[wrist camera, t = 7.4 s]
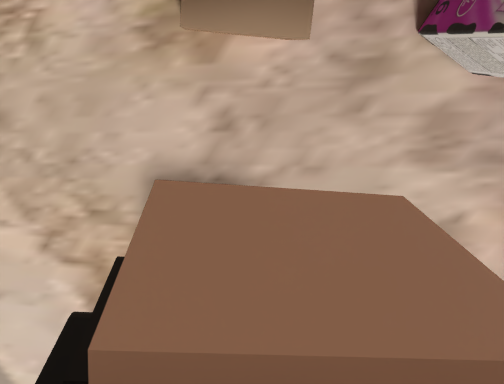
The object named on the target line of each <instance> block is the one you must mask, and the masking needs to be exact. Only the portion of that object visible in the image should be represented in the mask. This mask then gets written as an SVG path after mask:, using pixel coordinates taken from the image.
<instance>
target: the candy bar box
mask: <svg viewBox="0 0 504 384" xmlns="http://www.w3.org/2000/svg"><path fill="white" fill-rule="evenodd" d="M418 34H420V35H421V36H422V37H424V38H425V39H426V40H427V41H428V42H430V43H431V44H433V45H435V46H436V47H438V48H439V49H440V50H442V51H443V52H444V53H446V54H447V55H448V56H449V57H451V58H452V59H453V60H455V61H456V62H457V63H458V64H460V65H461V66H462V67H463V68H465V69H466V70H467V71H468V72H470V73H472V74H478V75H486V76H496V77H503V78H504V0H439V1H438V3H437V4H436V6H435V7H434V9H433V10H432V12H431V13H430V15H429V16H428V18H427V19H426V21H425V22H424V24H423V25H422V27H421V28H420V29H419V31H418Z"/></svg>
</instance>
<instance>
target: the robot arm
mask: <svg viewBox="0 0 504 384" xmlns="http://www.w3.org/2000/svg"><path fill="white" fill-rule="evenodd" d="M124 258H125V257H117V258H116V260H115V262H114V265H113V267H112V269H111V271H110V274H109V276H108V278H107V281H106V283H105V285H104V288H103V290H102V292H101V294H100V297H99V299H98V301H97V304H96V306H95V308H94V311H93V312H73V313H72V314H71V315H70V317H69V318H68V320H67V322H66V324H65V326H64V328H63V330H62V332H61V334H60V336H59V338H58V340H57V342H56V344H55V346H54V348H53V350H52V352H51V353H50V355H49V357H48V359H47V361H46V363H45V365H44V367H43V369H42V371H41V373H40V375H39V377H38V379H37V381H36V383H35V384H89V379H88V348H89V346H90V343H91V341H92V338H93V336H94V333H95V331H96V328H97V326H98V323H99V321H100V318H101V316H102V313H103V311H104V308H105V306H106V303H107V301H108V298H109V296H110V293H111V290H112V288H113V285H114V283H115V280H116V278H117V275H118V273H119V270H120V268H121V265H122V263H123V260H124Z"/></svg>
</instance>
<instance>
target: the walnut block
mask: <svg viewBox="0 0 504 384" xmlns="http://www.w3.org/2000/svg"><path fill="white" fill-rule="evenodd" d="M313 7H314V0H181V17H180V27H182V28H184V29H186V30H195V31H205V32H215V33H225V34H235V35H245V36H255V37H265V38H275V39H285V40H303V39H310V31H311V23H312V15H313Z"/></svg>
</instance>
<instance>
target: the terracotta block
mask: <svg viewBox="0 0 504 384" xmlns="http://www.w3.org/2000/svg"><path fill="white" fill-rule="evenodd" d="M88 379H89V384H504V281H503V280H502V279H500V278H499V277H498V276H497V275H496V274H495V273H493V272H492V271H491V270H490V269H489V268H487V267H486V266H485V265H484V264H483V263H482V262H480V261H479V260H478V259H477V258H476V257H474V256H473V255H472V254H471V253H470V252H469V251H467V250H466V249H465V248H464V247H463V246H461V245H460V244H459V243H458V242H457V241H455V240H454V239H453V238H452V237H451V236H450V235H448V234H447V233H446V232H445V231H444V230H442V229H441V228H440V227H439V226H438V225H437V224H435V223H434V222H433V221H432V220H431V219H429V218H428V217H427V216H426V215H425V214H424V213H422V212H421V211H420V210H419V209H418V208H416V207H415V206H414V205H413V204H412V203H411V202H409V201H408V200H407V199H406V198H405V197H403V196H393V195H378V194H363V193H348V192H333V191H318V190H303V189H288V188H273V187H258V186H243V185H228V184H213V183H198V182H183V181H168V180H155V182H154V185H153V187H152V190H151V192H150V195H149V197H148V200H147V202H146V205H145V207H144V210H143V212H142V215H141V218H140V220H139V223H138V225H137V228H136V230H135V233H134V235H133V238H132V240H131V243H130V245H129V248H128V250H127V253H126V255H125V258H124V260H123V263H122V265H121V268H120V270H119V273H118V275H117V278H116V280H115V283H114V285H113V288H112V290H111V293H110V296H109V298H108V301H107V303H106V306H105V308H104V311H103V313H102V316H101V318H100V321H99V323H98V326H97V328H96V331H95V333H94V336H93V338H92V341H91V343H90V346H89V348H88Z"/></svg>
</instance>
